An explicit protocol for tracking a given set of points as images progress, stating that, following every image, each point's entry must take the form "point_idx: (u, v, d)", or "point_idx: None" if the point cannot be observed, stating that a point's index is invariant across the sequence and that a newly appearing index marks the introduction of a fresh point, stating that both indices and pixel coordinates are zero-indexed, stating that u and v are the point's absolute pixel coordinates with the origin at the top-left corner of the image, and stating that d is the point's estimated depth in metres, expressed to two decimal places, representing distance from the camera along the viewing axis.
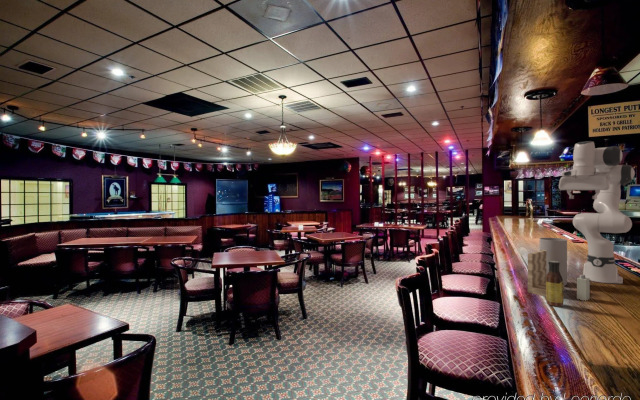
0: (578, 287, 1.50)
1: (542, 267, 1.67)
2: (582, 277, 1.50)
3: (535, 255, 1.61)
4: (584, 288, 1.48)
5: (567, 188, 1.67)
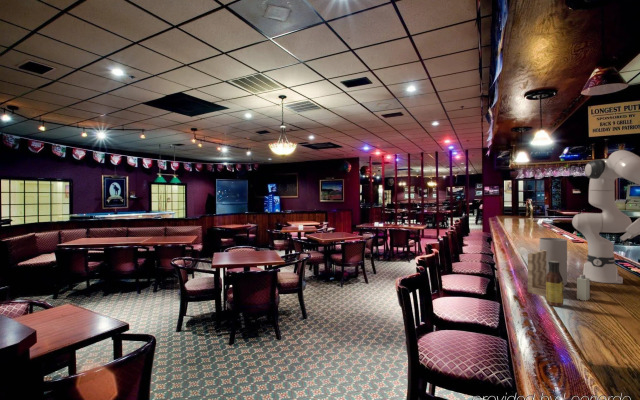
0: (578, 287, 1.50)
1: (542, 267, 1.67)
2: (582, 277, 1.50)
3: (535, 255, 1.61)
4: (584, 288, 1.48)
5: (637, 234, 1.33)
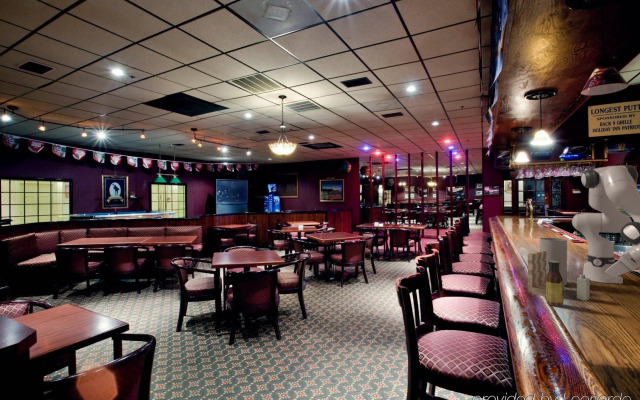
0: (578, 287, 1.50)
1: (542, 267, 1.67)
2: (582, 277, 1.50)
3: (535, 255, 1.61)
4: (584, 288, 1.48)
5: None
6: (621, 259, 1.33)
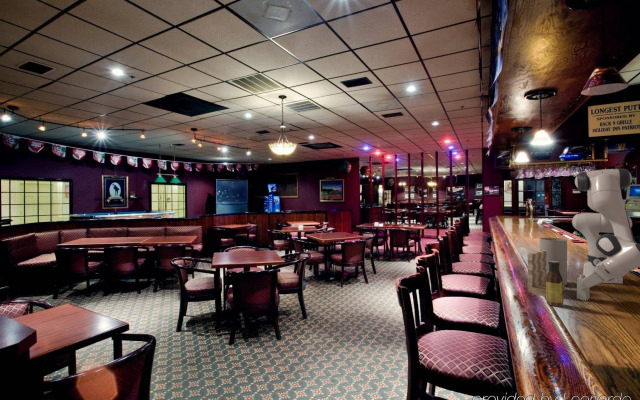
0: None
1: (542, 267, 1.67)
2: (582, 277, 1.50)
3: (535, 255, 1.61)
4: (584, 288, 1.48)
5: None
6: (596, 270, 1.40)
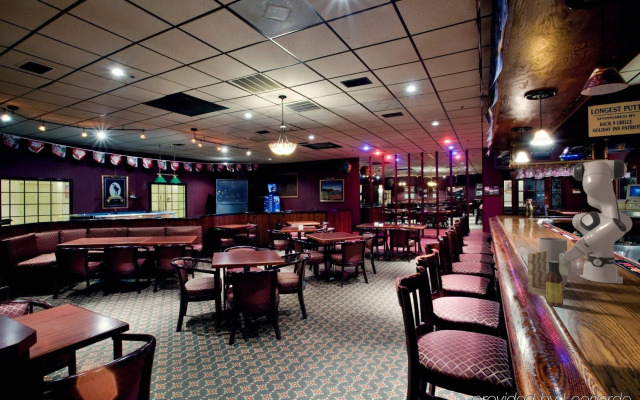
0: None
1: (542, 267, 1.67)
2: (564, 253, 1.55)
3: (535, 255, 1.61)
4: (566, 263, 1.54)
5: (572, 260, 1.49)
6: (576, 244, 1.45)
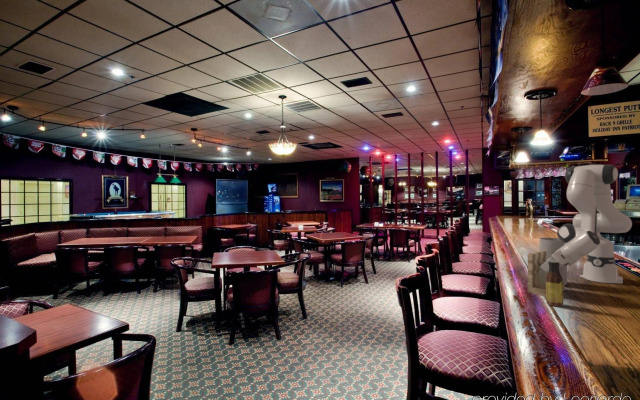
0: (539, 274, 1.63)
1: None
2: None
3: (535, 255, 1.61)
4: (544, 275, 1.61)
5: None
6: (553, 256, 1.53)
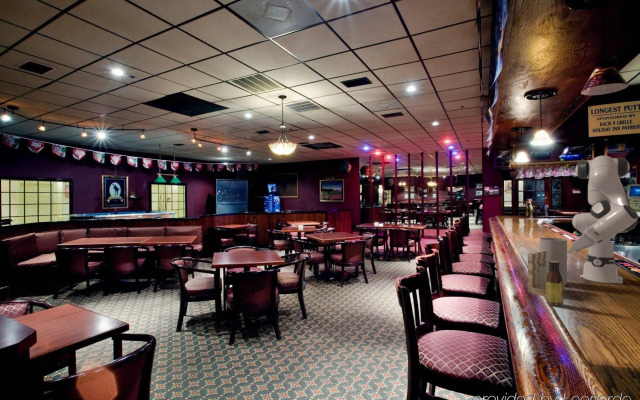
0: (539, 274, 1.63)
1: None
2: (543, 265, 1.63)
3: (535, 255, 1.61)
4: (544, 275, 1.61)
5: (581, 249, 1.46)
6: (585, 232, 1.42)
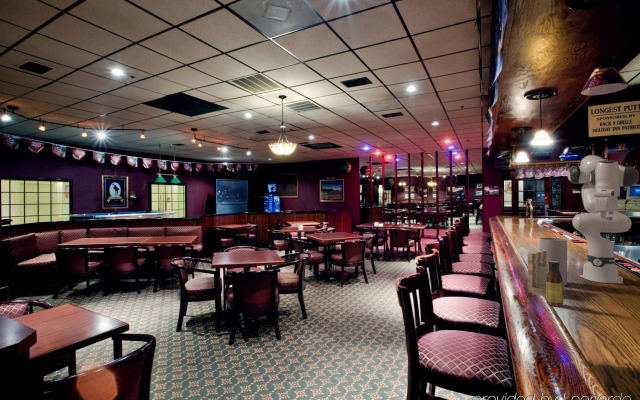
0: (539, 274, 1.63)
1: None
2: (543, 265, 1.63)
3: (535, 255, 1.61)
4: (544, 275, 1.61)
5: (608, 210, 1.50)
6: (595, 194, 1.51)
